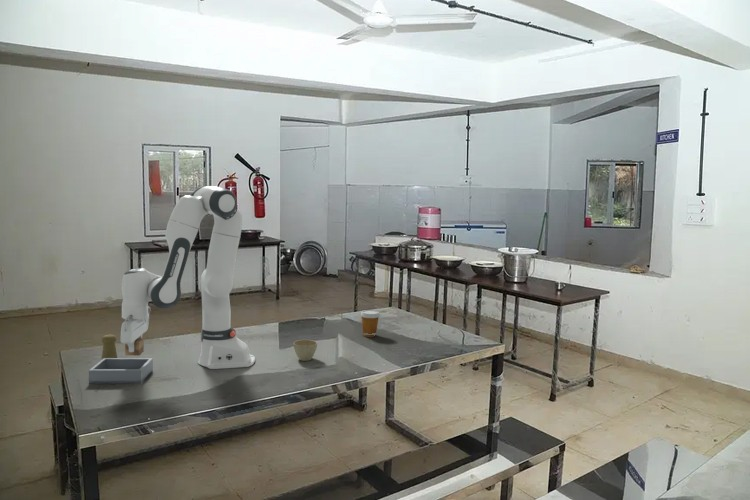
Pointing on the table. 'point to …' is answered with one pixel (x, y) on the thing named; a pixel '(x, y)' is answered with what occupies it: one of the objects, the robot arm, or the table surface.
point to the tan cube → (136, 347)
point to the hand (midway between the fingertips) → (134, 349)
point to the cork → (109, 346)
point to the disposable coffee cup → (369, 321)
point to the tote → (121, 371)
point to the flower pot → (305, 349)
